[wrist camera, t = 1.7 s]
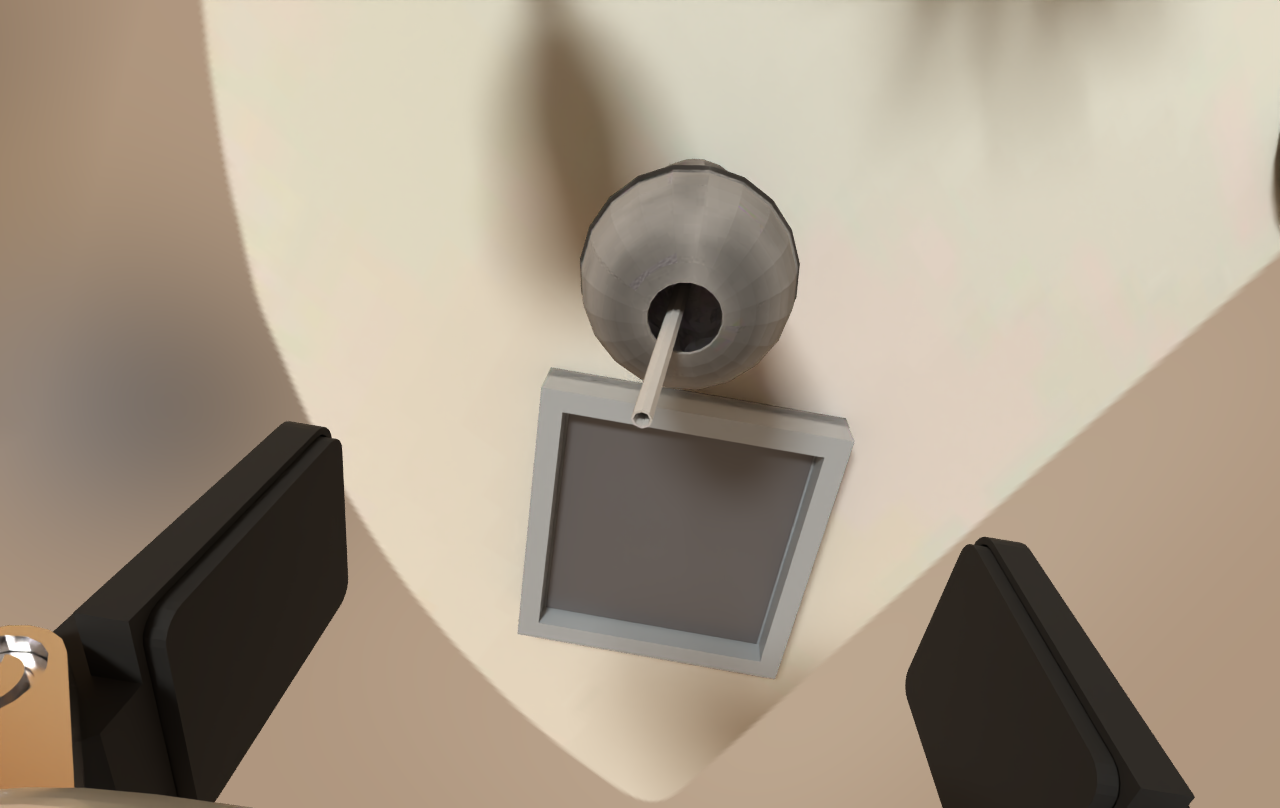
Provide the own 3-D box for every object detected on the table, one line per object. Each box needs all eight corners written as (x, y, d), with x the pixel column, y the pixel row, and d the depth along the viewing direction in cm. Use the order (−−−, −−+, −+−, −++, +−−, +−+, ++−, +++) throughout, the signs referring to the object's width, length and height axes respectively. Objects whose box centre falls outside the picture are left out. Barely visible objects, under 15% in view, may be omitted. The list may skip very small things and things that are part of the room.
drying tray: (845, 418, 38) (854, 441, 36) (771, 648, 46) (775, 679, 44) (550, 367, 38) (541, 387, 36) (526, 605, 46) (517, 634, 44)
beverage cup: (803, 210, 33) (914, 396, 16) (690, 311, 36) (674, 569, 18) (697, 90, 32) (685, 146, 14) (586, 206, 34) (455, 380, 16)
